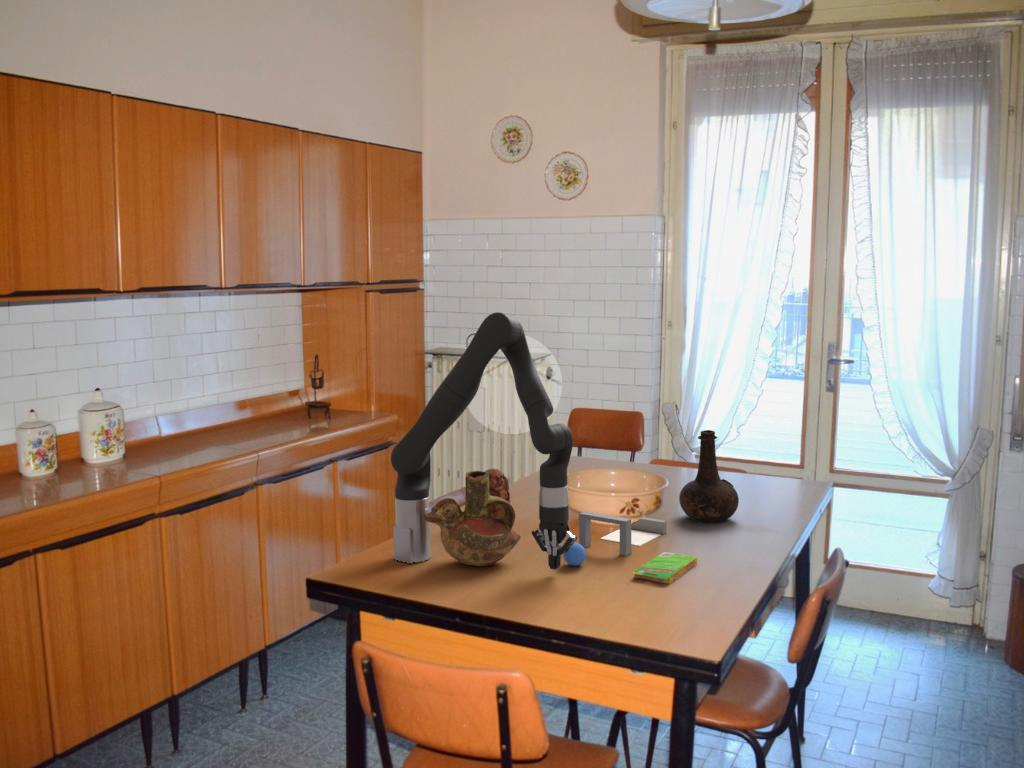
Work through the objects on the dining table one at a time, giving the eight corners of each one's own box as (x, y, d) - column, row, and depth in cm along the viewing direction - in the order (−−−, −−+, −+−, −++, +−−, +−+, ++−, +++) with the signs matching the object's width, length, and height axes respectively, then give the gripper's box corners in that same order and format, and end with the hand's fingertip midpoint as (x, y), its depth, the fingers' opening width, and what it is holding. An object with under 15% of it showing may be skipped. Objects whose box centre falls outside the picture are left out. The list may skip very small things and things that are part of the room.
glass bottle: (749, 523, 284) (751, 433, 280) (699, 530, 277) (700, 438, 274) (716, 509, 300) (717, 424, 297) (668, 515, 293) (669, 428, 290)
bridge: (626, 555, 253) (626, 521, 252) (579, 546, 262) (579, 513, 261) (631, 553, 256) (631, 518, 254) (584, 544, 264) (584, 511, 263)
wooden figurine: (490, 533, 277) (489, 474, 275) (474, 529, 281) (473, 471, 278) (514, 524, 286) (513, 466, 284) (498, 520, 290) (497, 464, 288)
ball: (578, 570, 242) (578, 548, 241) (559, 566, 245) (558, 544, 244) (590, 564, 246) (590, 542, 246) (571, 560, 250) (570, 538, 249)
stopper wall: (663, 534, 273) (663, 522, 273) (624, 527, 281) (624, 516, 281) (666, 532, 275) (666, 520, 275) (627, 525, 283) (627, 514, 282)
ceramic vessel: (420, 559, 253) (418, 469, 250) (512, 550, 259) (510, 462, 256) (431, 579, 236) (429, 483, 233) (529, 569, 243) (528, 475, 240)
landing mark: (640, 546, 262) (640, 545, 262) (600, 538, 269) (600, 538, 269) (660, 535, 272) (661, 534, 272) (622, 528, 280) (622, 527, 280)
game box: (697, 568, 246) (666, 586, 229) (663, 562, 251) (630, 580, 234) (697, 556, 246) (667, 574, 229) (663, 551, 251) (630, 568, 234)
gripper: (523, 502, 236) (525, 568, 238) (567, 509, 229) (568, 577, 231) (540, 496, 242) (541, 560, 244) (583, 502, 235) (584, 569, 237)
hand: (554, 568), depth 238 cm, fingers closed
